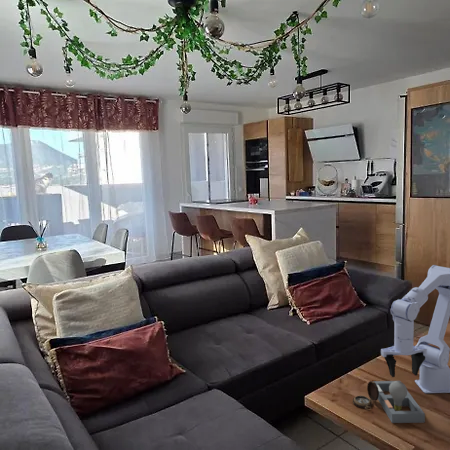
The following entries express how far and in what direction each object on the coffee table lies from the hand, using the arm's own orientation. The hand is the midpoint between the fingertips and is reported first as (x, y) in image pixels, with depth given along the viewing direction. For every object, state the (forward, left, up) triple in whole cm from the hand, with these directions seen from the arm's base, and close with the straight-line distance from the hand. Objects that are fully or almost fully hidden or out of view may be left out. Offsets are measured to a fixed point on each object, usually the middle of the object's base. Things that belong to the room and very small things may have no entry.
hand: (403, 374), depth 128 cm
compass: (+13, 0, -11) cm, 16 cm away
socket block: (+3, +1, -10) cm, 11 cm away
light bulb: (+3, +4, -11) cm, 12 cm away
